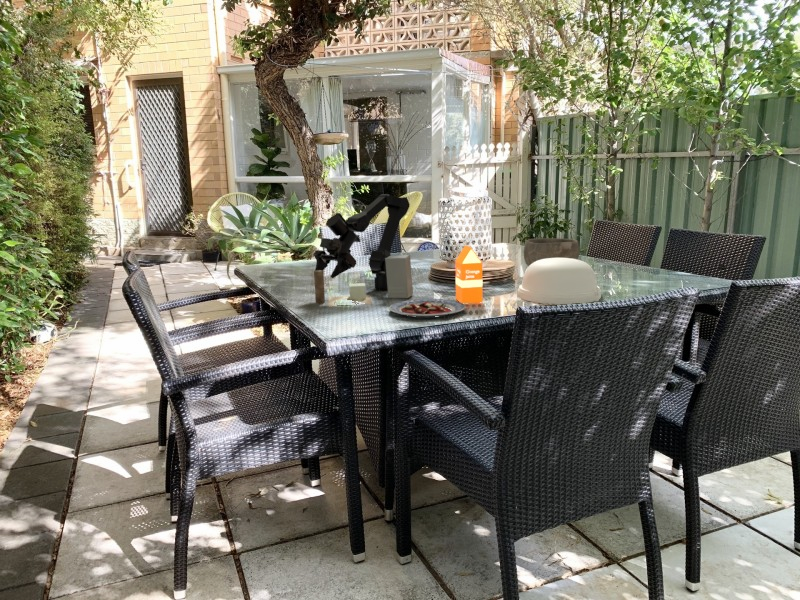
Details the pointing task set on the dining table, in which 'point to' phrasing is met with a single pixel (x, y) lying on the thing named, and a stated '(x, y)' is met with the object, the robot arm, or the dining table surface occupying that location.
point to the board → (333, 299)
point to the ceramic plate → (427, 307)
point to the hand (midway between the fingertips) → (323, 276)
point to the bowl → (550, 249)
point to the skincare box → (399, 276)
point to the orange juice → (468, 277)
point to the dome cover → (559, 282)
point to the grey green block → (357, 291)
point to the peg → (319, 287)
